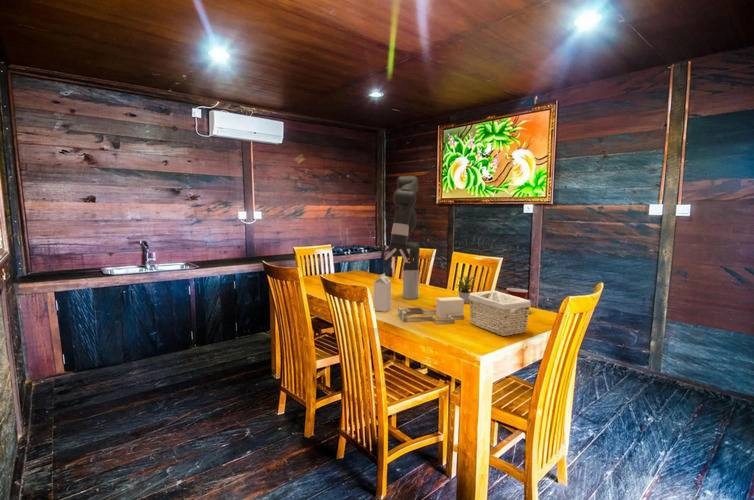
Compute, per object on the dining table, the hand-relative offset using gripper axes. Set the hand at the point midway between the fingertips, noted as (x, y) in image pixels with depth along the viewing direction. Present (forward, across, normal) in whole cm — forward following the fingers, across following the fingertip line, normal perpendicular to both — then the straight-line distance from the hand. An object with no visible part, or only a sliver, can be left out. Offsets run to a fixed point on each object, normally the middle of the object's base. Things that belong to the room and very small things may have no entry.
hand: (394, 269), depth 177 cm
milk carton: (+24, +1, -29) cm, 37 cm away
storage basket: (+20, -50, +2) cm, 54 cm away
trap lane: (+22, -22, -15) cm, 34 cm away
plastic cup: (+14, -69, -24) cm, 74 cm away
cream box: (+20, -32, -16) cm, 41 cm away
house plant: (+15, -48, -44) cm, 66 cm away
